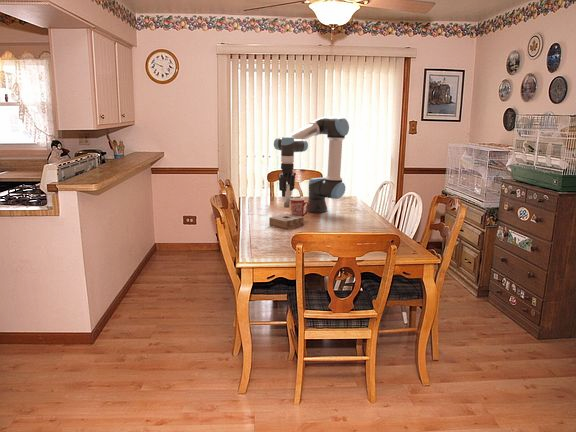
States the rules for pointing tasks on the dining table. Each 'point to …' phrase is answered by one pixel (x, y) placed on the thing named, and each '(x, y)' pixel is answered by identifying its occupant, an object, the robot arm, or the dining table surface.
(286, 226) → the bore block
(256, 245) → the dining table surface
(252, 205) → the dining table surface
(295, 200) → the mug
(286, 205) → the pin
